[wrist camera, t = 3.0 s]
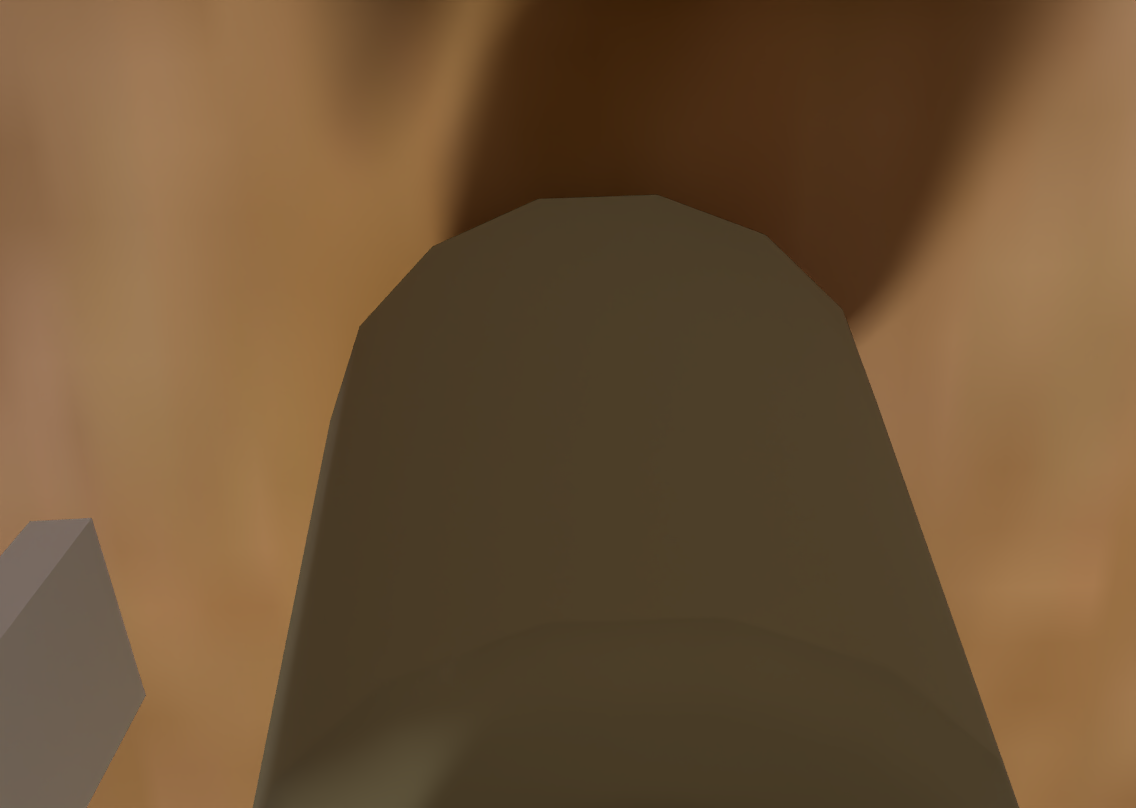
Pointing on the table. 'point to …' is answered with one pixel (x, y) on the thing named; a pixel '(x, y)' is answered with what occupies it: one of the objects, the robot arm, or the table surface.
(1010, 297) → the table surface
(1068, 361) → the table surface
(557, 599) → the squeeze bottle
